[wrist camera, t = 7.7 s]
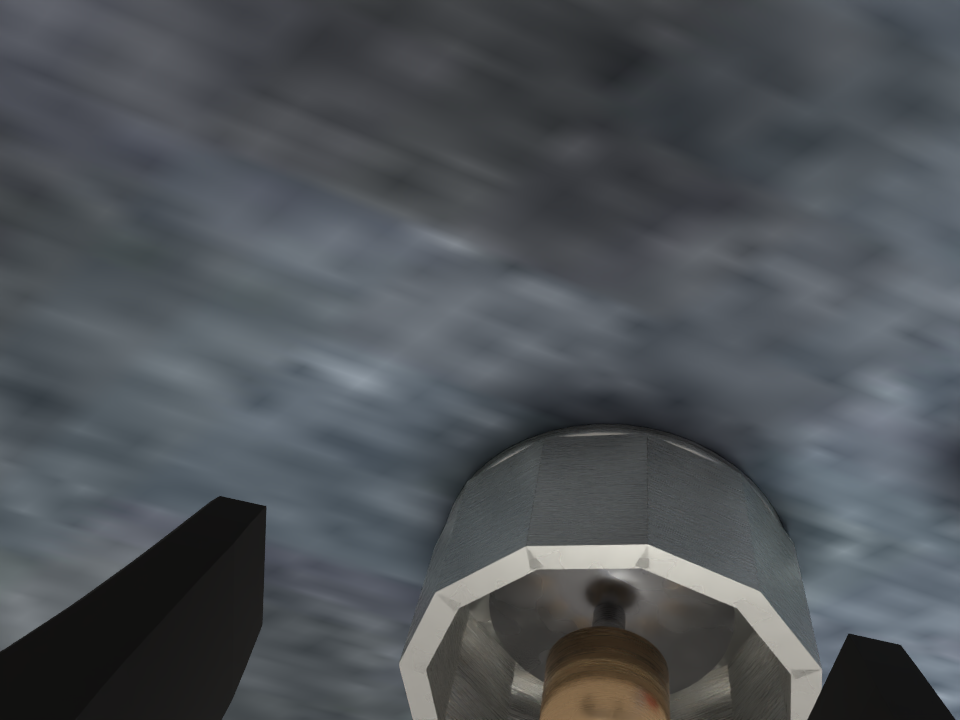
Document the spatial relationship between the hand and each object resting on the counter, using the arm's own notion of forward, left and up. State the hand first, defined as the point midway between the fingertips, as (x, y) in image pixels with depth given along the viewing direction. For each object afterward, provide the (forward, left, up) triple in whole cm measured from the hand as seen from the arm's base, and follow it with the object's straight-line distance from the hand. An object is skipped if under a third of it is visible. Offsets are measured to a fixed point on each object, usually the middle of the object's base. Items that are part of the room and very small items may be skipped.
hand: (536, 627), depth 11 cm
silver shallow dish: (-4, +8, -10) cm, 14 cm away
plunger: (-4, +7, -9) cm, 12 cm away
